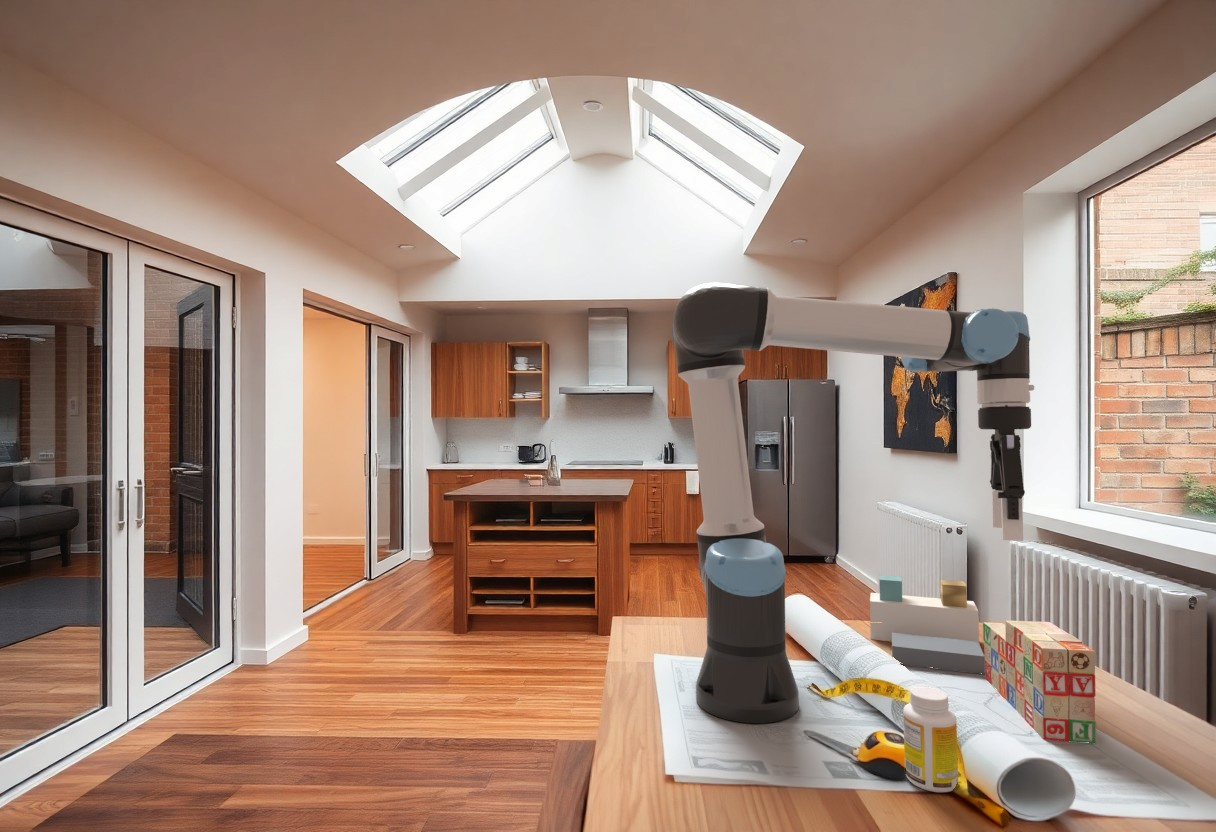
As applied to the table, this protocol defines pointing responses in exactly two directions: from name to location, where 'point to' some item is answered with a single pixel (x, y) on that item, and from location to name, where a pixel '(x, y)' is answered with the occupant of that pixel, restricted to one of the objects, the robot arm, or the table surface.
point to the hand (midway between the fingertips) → (1006, 533)
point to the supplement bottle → (930, 740)
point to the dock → (938, 653)
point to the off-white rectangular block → (922, 618)
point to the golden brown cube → (953, 593)
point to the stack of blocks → (1043, 677)
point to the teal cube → (890, 588)
